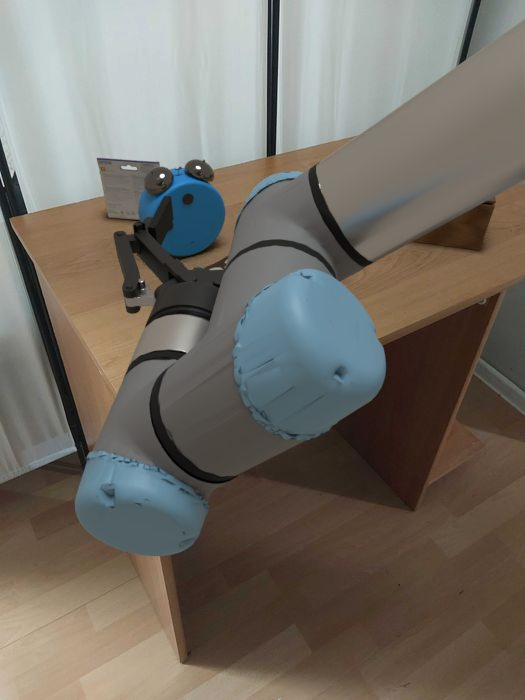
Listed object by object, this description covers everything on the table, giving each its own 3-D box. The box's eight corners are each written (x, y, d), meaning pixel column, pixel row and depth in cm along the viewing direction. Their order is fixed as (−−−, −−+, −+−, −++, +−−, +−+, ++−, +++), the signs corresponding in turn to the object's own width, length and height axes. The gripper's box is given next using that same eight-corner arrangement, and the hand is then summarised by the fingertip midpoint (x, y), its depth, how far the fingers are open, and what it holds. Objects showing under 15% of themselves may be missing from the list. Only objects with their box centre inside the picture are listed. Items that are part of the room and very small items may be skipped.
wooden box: (475, 214, 102) (490, 168, 96) (479, 250, 93) (496, 201, 87) (396, 204, 105) (406, 158, 98) (392, 238, 96) (402, 190, 89)
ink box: (171, 217, 100) (164, 156, 92) (167, 223, 98) (160, 162, 90) (111, 211, 101) (99, 151, 93) (107, 218, 99) (94, 157, 91)
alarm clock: (212, 231, 96) (208, 149, 86) (228, 247, 92) (225, 163, 82) (143, 249, 91) (130, 164, 81) (156, 267, 88) (144, 181, 77)
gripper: (45, 367, 44) (122, 234, 60) (346, 396, 43) (345, 252, 58) (19, 294, 39) (111, 169, 55) (360, 325, 38) (355, 188, 53)
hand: (232, 212), depth 57 cm, fingers open, 13 cm apart
